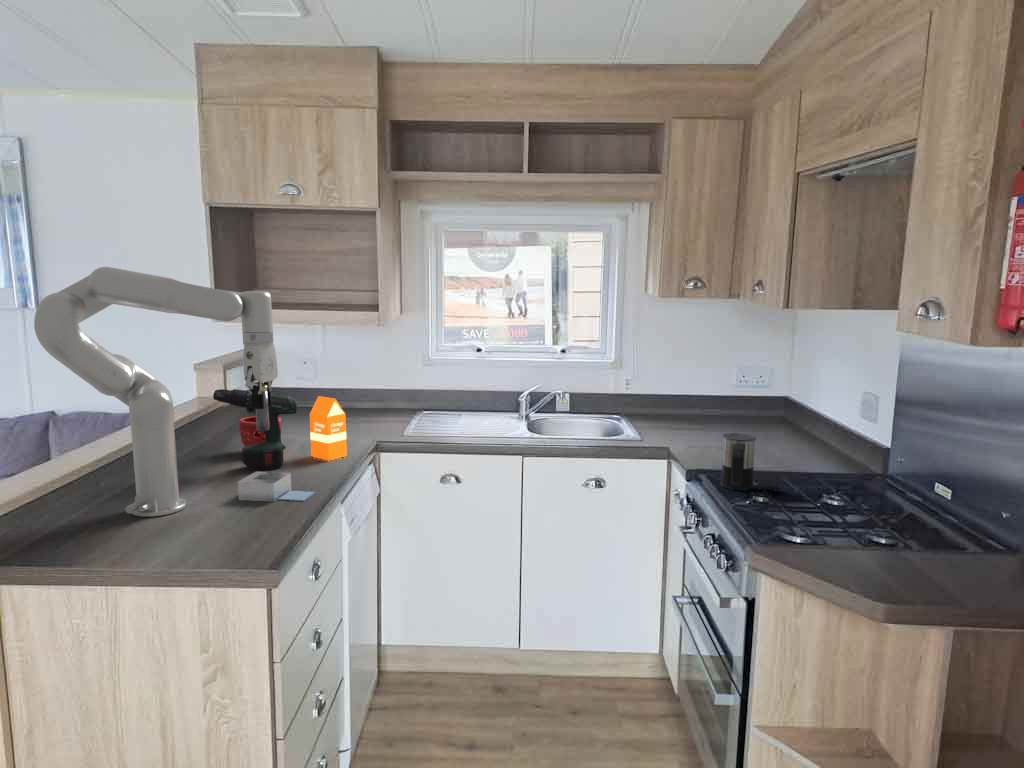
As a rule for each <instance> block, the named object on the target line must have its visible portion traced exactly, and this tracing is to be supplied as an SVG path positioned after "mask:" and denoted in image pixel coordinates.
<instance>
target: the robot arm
mask: <svg viewBox="0 0 1024 768" xmlns="http://www.w3.org/2000/svg"><path fill="white" fill-rule="evenodd" d="M112 305H117V306H123V307H124V306H125V307H132V308H137V309H143V310H144V309H145V310H149V311H150V310H151V311H155V312H161V313H166V314H179V315H185V316H192V317H197V318H203V319H209V320H216V321H222V322H231V321H235V320H237V319H238V318H241V332H242V345H243V353H242V354H243V356H242V359H243V361H242V364H243V365H242V366H243V367H242V368H243V379H244V381H245V388H248V390H250V394H251V401H252V409H264V394H262V384H265V385H267V392H268V406H271V393H272V384H273V382H274V380H276V379H277V378H278V377H279V376H278V375H279V373H278V372H279V371H278V362H277V354H276V353H277V352H276V349H275V348H276V347H275V344H274V332H273V331H274V329H273V326H274V325H273V309H272V308H273V307H272V295H271V294H270V292H268V291H264V290H247V291H234V290H233V291H231V290H225V289H217V288H214V287H207V286H202V285H196V284H191V283H187V282H184V281H180V280H177V279H174V278H171V277H170V278H169V277H165V276H160V275H154V274H149V273H143V272H138V271H132V270H128V269H127V270H126V269H122V268H117V267H110V266H102V267H98V268H96V269H94V270H93V271H92V272H91V273H90V274H88V275H87V276H85V277H84V278H82V279H80V280H78V281H77V282H74V283H73V284H71V285H69V286H67V287H65V288H64V289H63V288H62V289H61V290H59V291H56V292H53V293H51V294H47V295H46V296H44V298H42V300H40V302H39V303H38V305H37V308H36V310H35V314H34V321H33V326H34V332H35V336H36V338H37V340H38V342H39V343H40V345H41V346H42V348H43V349H44V350H45V351H46V352H47V353H48V354H49V355H50V356H51V357H53V358H54V359H55V360H56V361H58V362H59V363H60V364H62V365H64V366H65V367H66V368H67V369H68V370H70V371H71V372H72V373H74V374H75V375H76V376H78V377H79V378H81V379H82V380H83V381H84V382H86V383H87V384H89V385H90V386H91V387H93V388H94V389H95V390H96V391H97V392H99V393H101V394H103V395H104V396H109V397H114V398H116V399H117V400H118V401H120V402H121V403H123V404H124V405H126V406H128V415H129V424H130V432H131V433H130V434H131V444H132V454H133V455H132V456H133V468H134V477H135V478H134V479H135V481H134V482H135V492H136V495H135V496H134V502H133V503H131V504H129V505H127V506H126V507H125V508H124V509H125V512H126V514H131V515H133V516H135V517H143V518H145V517H147V518H148V517H152V518H153V517H159V516H161V517H162V516H166V515H170V514H174V513H178V512H180V511H181V510H183V509H184V508H186V506H187V500H186V499H185V498H181V497H180V492H179V478H178V475H179V474H178V465H177V464H178V462H177V448H176V435H175V419H174V418H175V412H174V411H175V410H174V403H173V398H172V394H171V393H170V390H169V389H168V388H167V386H165V384H163V383H162V382H160V381H159V380H158V379H156V377H154V376H152V375H151V374H150V373H149V372H147V371H146V370H144V369H143V368H141V366H139V365H138V364H136V363H135V362H133V361H132V360H131V359H130V358H128V357H126V356H123V355H121V354H115V353H112V352H110V351H108V350H107V349H106V348H105V347H103V346H102V345H100V343H98V342H97V341H96V340H94V339H93V338H92V337H90V336H88V335H87V334H85V332H83V331H82V330H81V328H80V324H81V323H82V322H83V321H85V320H88V318H90V317H93V316H94V315H95V314H98V313H100V312H101V311H103V310H105V309H107V308H108V307H110V306H112ZM256 385H258V387H257V386H256Z"/></svg>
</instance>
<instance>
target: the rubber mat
mask: <svg viewBox="0 0 1024 768" xmlns="http://www.w3.org/2000/svg"><path fill="white" fill-rule="evenodd" d="M315 494H316V491H304V490H291V491H289V492H288V493H286V494H285V495H283V496H282V497H280V498H279V499H278V501H286V500H289V501H291V502H305V501H306V500H308V499H309V498H310V497H312V496H313V495H315Z"/></svg>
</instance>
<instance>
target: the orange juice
mask: <svg viewBox="0 0 1024 768" xmlns="http://www.w3.org/2000/svg"><path fill="white" fill-rule="evenodd" d="M312 406H313V407H312V409H311V411H310V412H309V428H310V432H309V433H310V434H309V436H310V438H309V439H310V452H311V453H310V454H311V455H310V457H311V456H313V457H317V458H321V459H325V460H328V461H327V462H330V461H329V460H333V461H335V460H334V459H337V460H339V459H338V458H340V459H342V458H341V457H344V458H346V457H345V456H347V457H348V454H347V453H348V452H347V451H348V450H347V424H346V423H347V421H346V419H347V417H346V413H345V411H344V410H343V409H342V406H341V405H340V404H339V402H338V401H337V399H336V398H333V397H326V396H320V395H318V396H317V398H316V400H315V402H314V405H312ZM325 460H324V461H325Z"/></svg>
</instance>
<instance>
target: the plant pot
mask: <svg viewBox="0 0 1024 768" xmlns="http://www.w3.org/2000/svg"><path fill="white" fill-rule="evenodd" d="M278 421H279V425H280V431H281V432H282V418H281V417H279V416H278ZM239 433H240V439H241V440H240V441H241V443H242V445H243V446H244V447H242V448H241V452H242V451H243V449H244V448H245V447H246V446H249V445H253V444H257V443H262V442H264V441H265V431H257V425H256V415H255V416H254V415H253V416H246V417H242V418H240V419H239Z"/></svg>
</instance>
